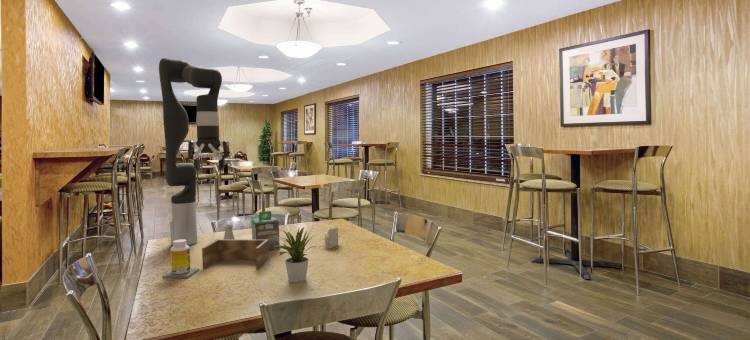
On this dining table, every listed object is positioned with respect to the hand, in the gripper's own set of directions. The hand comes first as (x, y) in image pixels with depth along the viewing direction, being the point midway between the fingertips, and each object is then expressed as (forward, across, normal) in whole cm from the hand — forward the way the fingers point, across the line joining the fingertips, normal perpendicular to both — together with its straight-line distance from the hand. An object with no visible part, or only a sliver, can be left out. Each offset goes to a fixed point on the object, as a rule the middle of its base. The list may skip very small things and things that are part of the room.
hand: (209, 169), depth 156 cm
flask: (+32, -3, -8) cm, 33 cm away
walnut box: (+32, -12, +9) cm, 35 cm away
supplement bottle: (+31, +2, +20) cm, 37 cm away
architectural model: (+32, -42, -15) cm, 55 cm away
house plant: (+32, -36, +24) cm, 54 cm away
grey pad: (+32, +2, +20) cm, 38 cm away
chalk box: (+32, -16, -12) cm, 38 cm away
